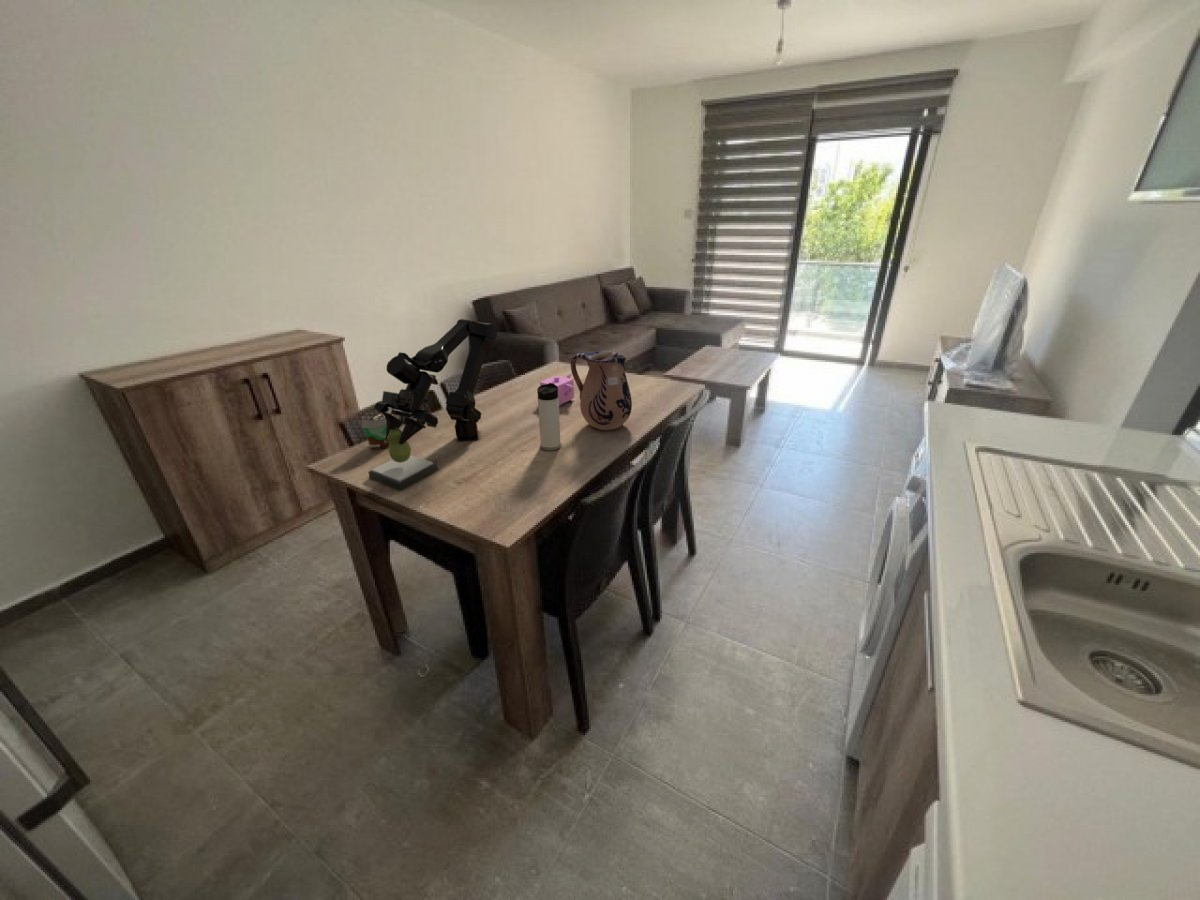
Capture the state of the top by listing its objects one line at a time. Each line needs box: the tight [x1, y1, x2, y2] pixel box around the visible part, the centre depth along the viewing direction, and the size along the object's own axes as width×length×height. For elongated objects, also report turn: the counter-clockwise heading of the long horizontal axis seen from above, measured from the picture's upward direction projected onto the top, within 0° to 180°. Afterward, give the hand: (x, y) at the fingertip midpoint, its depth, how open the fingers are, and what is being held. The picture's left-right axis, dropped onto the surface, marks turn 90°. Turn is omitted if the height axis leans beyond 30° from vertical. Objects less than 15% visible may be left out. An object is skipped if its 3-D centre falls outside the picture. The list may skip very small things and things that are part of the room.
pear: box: [387, 427, 412, 463], centre depth 132 cm, size 6×5×10 cm
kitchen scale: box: [367, 454, 439, 491], centre depth 136 cm, size 13×13×3 cm
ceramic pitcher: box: [570, 350, 633, 431], centre depth 161 cm, size 18×21×25 cm
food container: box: [361, 412, 389, 450], centre depth 152 cm, size 12×6×10 cm, turn 168°
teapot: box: [539, 373, 575, 407], centre depth 185 cm, size 18×14×10 cm
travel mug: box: [536, 383, 562, 452], centre depth 147 cm, size 6×7×20 cm
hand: (393, 442), depth 131 cm, fingers closed on pear, 4 cm apart
